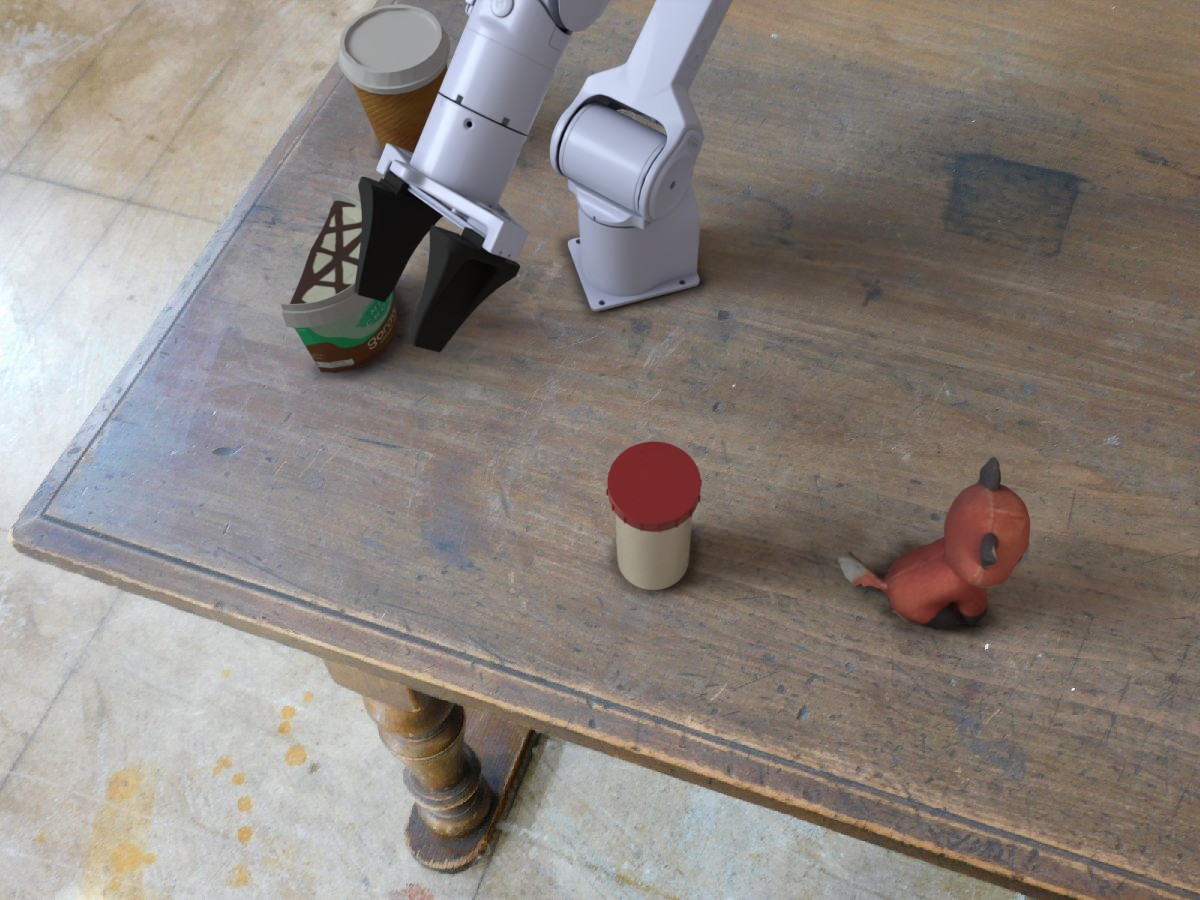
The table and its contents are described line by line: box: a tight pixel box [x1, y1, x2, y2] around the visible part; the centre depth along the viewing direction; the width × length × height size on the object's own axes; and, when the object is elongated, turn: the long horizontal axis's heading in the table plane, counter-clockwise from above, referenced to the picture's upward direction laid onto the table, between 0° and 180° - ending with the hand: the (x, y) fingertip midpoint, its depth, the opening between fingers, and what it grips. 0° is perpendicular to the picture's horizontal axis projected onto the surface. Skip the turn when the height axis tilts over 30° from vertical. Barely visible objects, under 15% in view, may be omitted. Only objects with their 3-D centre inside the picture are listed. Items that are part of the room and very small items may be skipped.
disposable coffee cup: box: [337, 3, 451, 154], centre depth 95 cm, size 10×10×12 cm
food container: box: [280, 190, 399, 373], centre depth 85 cm, size 12×6×10 cm, turn 168°
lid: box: [605, 441, 702, 533], centre depth 69 cm, size 6×6×1 cm
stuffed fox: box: [837, 456, 1031, 631], centre depth 71 cm, size 8×11×12 cm
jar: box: [614, 512, 694, 591], centre depth 73 cm, size 5×5×11 cm
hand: (395, 321), depth 67 cm, fingers open, 7 cm apart
